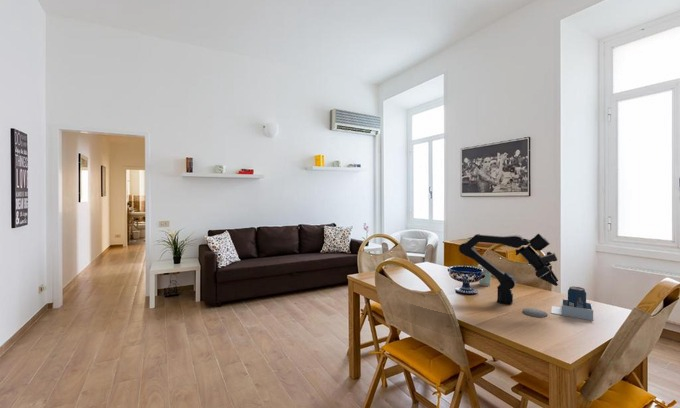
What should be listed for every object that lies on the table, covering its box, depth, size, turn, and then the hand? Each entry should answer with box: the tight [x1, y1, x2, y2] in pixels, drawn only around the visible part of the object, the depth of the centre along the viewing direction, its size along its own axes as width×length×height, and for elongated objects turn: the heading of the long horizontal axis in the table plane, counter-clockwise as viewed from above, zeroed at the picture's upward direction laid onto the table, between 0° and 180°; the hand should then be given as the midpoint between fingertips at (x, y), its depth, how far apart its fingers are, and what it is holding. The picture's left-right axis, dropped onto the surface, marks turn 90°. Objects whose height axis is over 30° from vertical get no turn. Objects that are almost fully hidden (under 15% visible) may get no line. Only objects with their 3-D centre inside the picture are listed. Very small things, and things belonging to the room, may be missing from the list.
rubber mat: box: [522, 307, 548, 318], centre depth 152 cm, size 10×10×1 cm
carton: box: [551, 298, 594, 321], centre depth 154 cm, size 15×15×4 cm
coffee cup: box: [477, 263, 492, 287], centre depth 201 cm, size 8×8×12 cm
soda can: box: [567, 286, 587, 309], centre depth 151 cm, size 7×7×12 cm
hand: (557, 283), depth 156 cm, fingers open, 9 cm apart
